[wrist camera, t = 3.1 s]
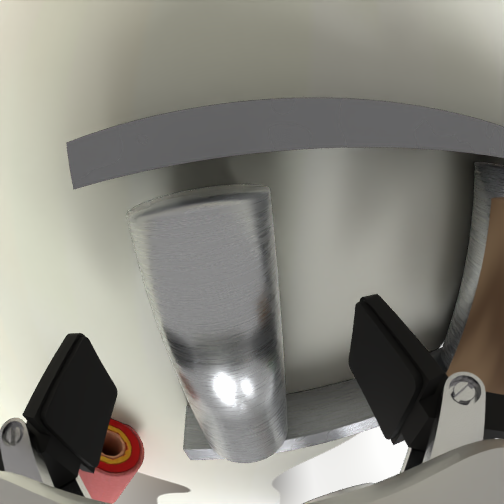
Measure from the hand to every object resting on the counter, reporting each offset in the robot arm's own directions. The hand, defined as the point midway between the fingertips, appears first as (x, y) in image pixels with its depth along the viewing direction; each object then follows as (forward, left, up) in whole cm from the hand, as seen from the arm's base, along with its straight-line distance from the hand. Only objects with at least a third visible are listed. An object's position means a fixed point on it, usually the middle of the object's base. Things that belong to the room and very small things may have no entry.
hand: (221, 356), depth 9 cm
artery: (-26, +21, -4) cm, 34 cm away
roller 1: (0, 0, -3) cm, 3 cm away
